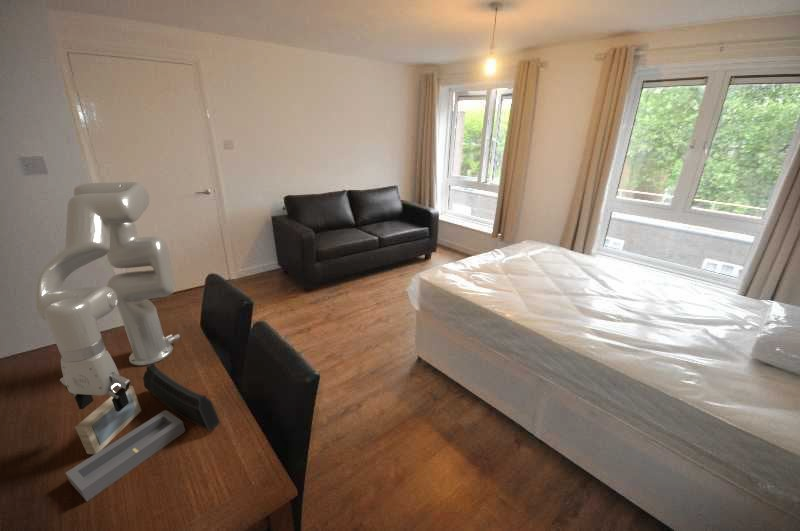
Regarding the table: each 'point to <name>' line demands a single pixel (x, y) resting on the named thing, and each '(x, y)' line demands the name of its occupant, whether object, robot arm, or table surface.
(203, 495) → the table surface
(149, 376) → the magazine
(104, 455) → the gray rectangular tray
